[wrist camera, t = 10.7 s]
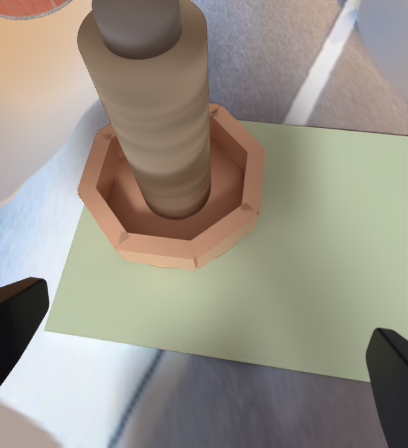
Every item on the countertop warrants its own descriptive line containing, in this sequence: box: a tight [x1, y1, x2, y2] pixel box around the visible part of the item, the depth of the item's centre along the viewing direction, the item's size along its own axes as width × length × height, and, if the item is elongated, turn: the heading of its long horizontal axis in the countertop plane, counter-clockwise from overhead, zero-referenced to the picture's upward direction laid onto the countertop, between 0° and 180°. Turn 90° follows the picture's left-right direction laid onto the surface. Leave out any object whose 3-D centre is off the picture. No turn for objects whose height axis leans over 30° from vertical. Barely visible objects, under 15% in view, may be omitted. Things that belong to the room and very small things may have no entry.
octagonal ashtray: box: [77, 103, 265, 270], centre depth 24 cm, size 12×12×3 cm
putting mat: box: [44, 120, 408, 382], centre depth 24 cm, size 19×28×1 cm
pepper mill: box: [77, 0, 211, 220], centre depth 18 cm, size 5×5×14 cm
